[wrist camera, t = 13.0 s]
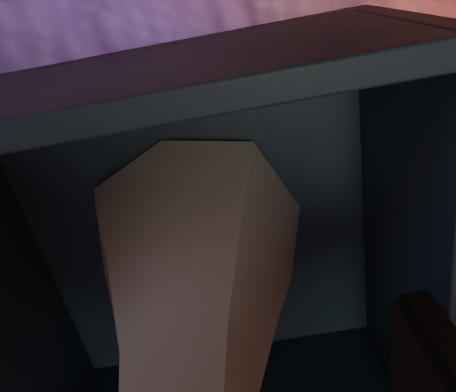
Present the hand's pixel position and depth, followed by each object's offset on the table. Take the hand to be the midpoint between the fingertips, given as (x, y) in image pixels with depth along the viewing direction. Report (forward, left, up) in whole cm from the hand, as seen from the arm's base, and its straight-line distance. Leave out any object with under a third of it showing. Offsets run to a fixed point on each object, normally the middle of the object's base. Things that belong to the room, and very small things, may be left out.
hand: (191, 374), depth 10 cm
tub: (0, 0, -7) cm, 7 cm away
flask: (0, 0, -6) cm, 6 cm away
